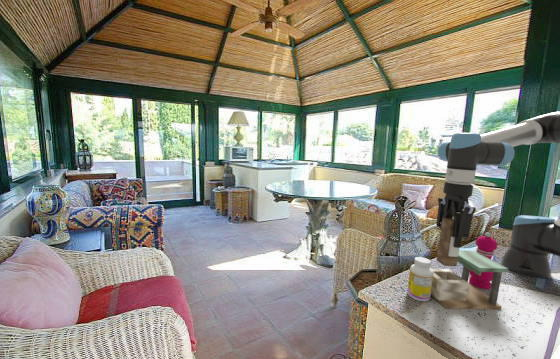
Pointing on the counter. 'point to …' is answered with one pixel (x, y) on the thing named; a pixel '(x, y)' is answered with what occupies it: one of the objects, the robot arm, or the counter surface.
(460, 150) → the robot arm
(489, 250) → the pepper mill
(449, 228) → the walnut peg
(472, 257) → the awning station
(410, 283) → the supplement bottle
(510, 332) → the counter surface
